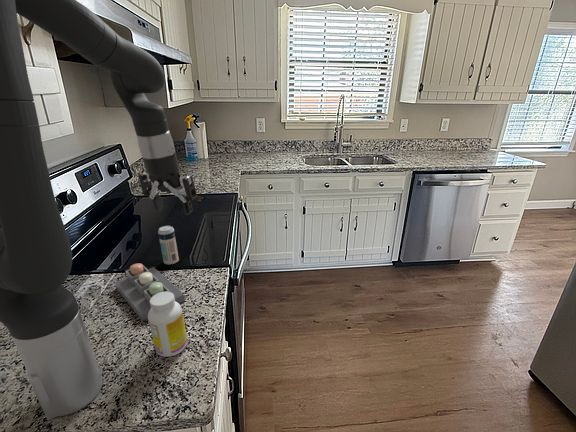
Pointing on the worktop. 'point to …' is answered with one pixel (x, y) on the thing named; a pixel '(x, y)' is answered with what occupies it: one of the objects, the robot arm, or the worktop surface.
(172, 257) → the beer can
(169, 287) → the grey boxy piece
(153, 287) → the sage button
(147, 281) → the cream button
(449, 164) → the worktop surface
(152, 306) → the supplement bottle
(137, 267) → the terracotta button
